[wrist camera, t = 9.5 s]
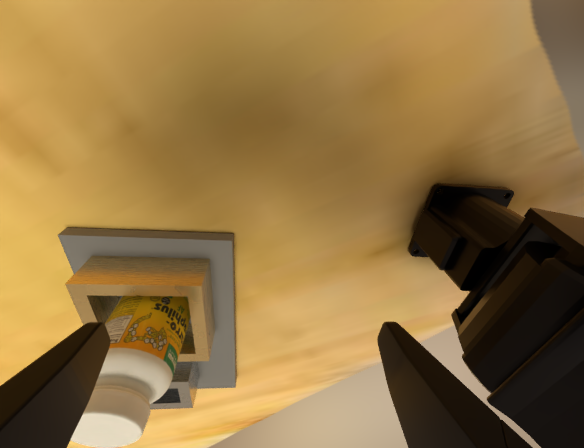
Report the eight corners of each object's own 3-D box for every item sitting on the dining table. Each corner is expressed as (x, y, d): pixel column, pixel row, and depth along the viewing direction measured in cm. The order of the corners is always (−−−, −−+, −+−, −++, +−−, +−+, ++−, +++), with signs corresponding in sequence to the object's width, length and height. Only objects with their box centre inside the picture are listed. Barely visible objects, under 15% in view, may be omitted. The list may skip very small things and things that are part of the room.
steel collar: (195, 350, 26) (188, 381, 24) (199, 376, 28) (192, 407, 26) (147, 351, 26) (134, 383, 23) (155, 377, 28) (144, 409, 25)
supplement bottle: (113, 286, 21) (14, 424, 13) (171, 263, 21) (106, 394, 12) (155, 325, 24) (96, 461, 16) (208, 306, 23) (175, 438, 15)
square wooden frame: (209, 258, 21) (201, 285, 18) (215, 330, 25) (209, 361, 22) (91, 255, 20) (65, 283, 17) (118, 331, 24) (100, 362, 21)
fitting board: (233, 233, 21) (232, 240, 20) (236, 378, 31) (235, 387, 30) (67, 227, 19) (57, 234, 19) (126, 381, 29) (122, 390, 28)
